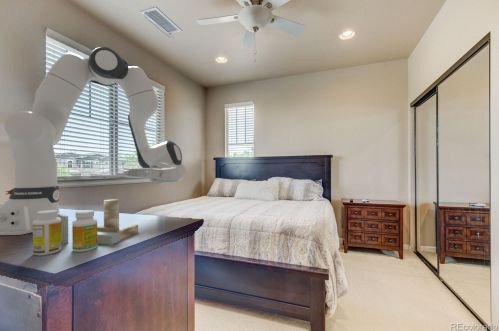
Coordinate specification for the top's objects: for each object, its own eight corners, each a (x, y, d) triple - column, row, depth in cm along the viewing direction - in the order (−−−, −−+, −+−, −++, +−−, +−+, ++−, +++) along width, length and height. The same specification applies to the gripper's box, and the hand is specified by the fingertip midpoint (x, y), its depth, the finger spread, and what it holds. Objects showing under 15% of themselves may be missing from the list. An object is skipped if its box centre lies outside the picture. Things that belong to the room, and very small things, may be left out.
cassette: (48, 237, 75) (47, 212, 75) (55, 236, 76) (55, 211, 76) (62, 245, 68) (62, 216, 68) (70, 243, 69) (70, 215, 69)
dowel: (101, 238, 73) (101, 201, 73) (106, 235, 77) (106, 199, 77) (116, 238, 74) (116, 200, 74) (120, 234, 77) (120, 199, 77)
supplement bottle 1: (63, 247, 66) (63, 208, 66) (59, 253, 61) (59, 211, 61) (36, 250, 63) (35, 210, 63) (30, 258, 58) (29, 214, 58)
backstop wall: (85, 238, 73) (85, 230, 73) (119, 241, 70) (119, 232, 70) (75, 241, 70) (75, 232, 70) (111, 244, 67) (111, 235, 67)
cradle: (111, 230, 82) (111, 220, 82) (138, 232, 79) (138, 221, 79) (88, 238, 73) (87, 226, 73) (116, 241, 71) (116, 228, 70)
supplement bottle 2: (85, 253, 61) (84, 213, 61) (66, 251, 62) (66, 212, 62) (102, 246, 66) (102, 209, 66) (85, 244, 67) (85, 209, 67)
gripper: (137, 164, 102) (111, 163, 89) (182, 165, 97) (162, 165, 84) (137, 179, 102) (111, 181, 89) (182, 181, 97) (161, 183, 84)
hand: (136, 173), depth 86 cm, fingers open, 8 cm apart
